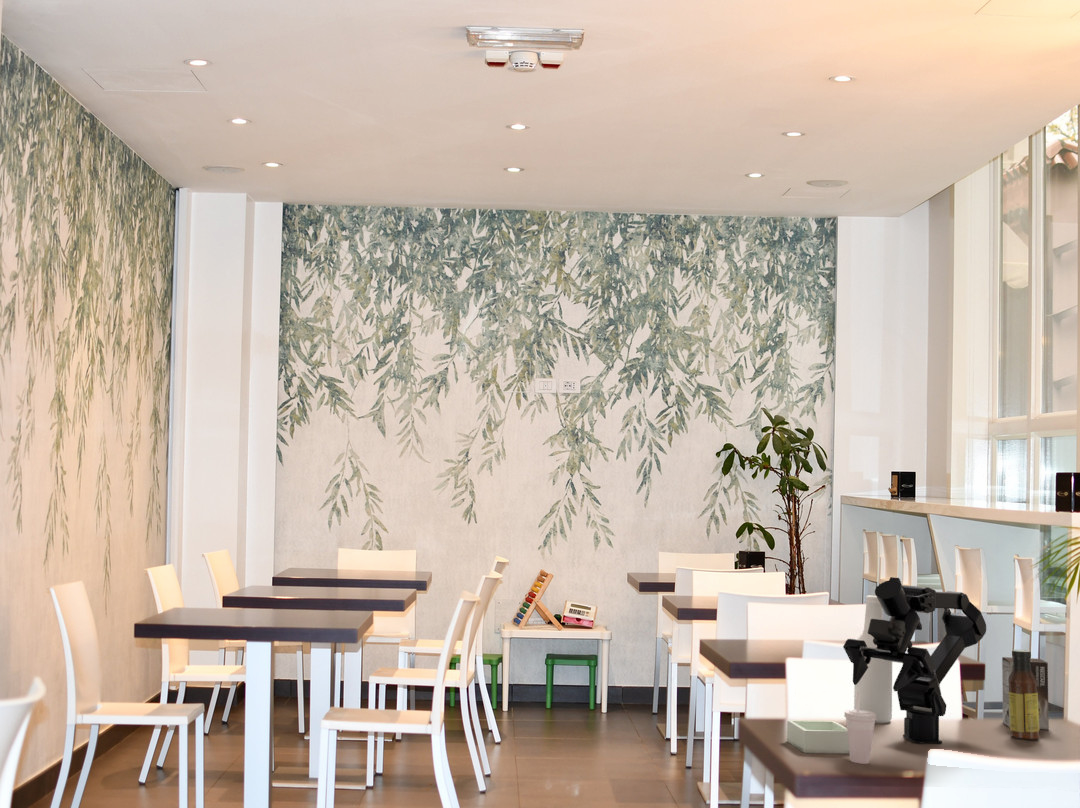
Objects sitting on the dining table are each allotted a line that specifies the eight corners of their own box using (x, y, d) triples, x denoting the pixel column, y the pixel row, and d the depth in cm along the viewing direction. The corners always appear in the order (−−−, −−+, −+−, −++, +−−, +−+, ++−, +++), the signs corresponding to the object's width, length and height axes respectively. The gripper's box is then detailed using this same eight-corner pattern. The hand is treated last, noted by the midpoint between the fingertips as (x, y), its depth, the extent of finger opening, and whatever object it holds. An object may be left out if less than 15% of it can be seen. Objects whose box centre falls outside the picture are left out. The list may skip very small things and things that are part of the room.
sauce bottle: (1039, 736, 249) (1039, 650, 251) (1039, 742, 244) (1039, 653, 245) (1008, 733, 252) (1008, 647, 254) (1008, 738, 246) (1008, 650, 248)
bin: (833, 741, 235) (833, 721, 236) (852, 753, 225) (853, 731, 225) (786, 741, 234) (787, 720, 234) (804, 752, 224) (804, 730, 224)
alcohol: (897, 724, 258) (899, 598, 260) (862, 723, 257) (864, 597, 260) (882, 716, 266) (883, 594, 269) (848, 716, 266) (850, 593, 268)
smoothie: (838, 757, 221) (839, 687, 222) (869, 757, 221) (869, 688, 223) (850, 764, 214) (851, 693, 216) (881, 765, 215) (882, 694, 216)
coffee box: (1039, 724, 264) (1039, 658, 266) (1049, 730, 258) (1049, 662, 259) (1001, 722, 265) (1001, 656, 267) (1010, 727, 259) (1010, 659, 260)
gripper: (848, 601, 238) (821, 655, 230) (928, 610, 225) (903, 667, 216) (865, 635, 243) (839, 689, 234) (945, 646, 230) (920, 703, 221)
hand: (874, 686), depth 226 cm, fingers open, 9 cm apart
